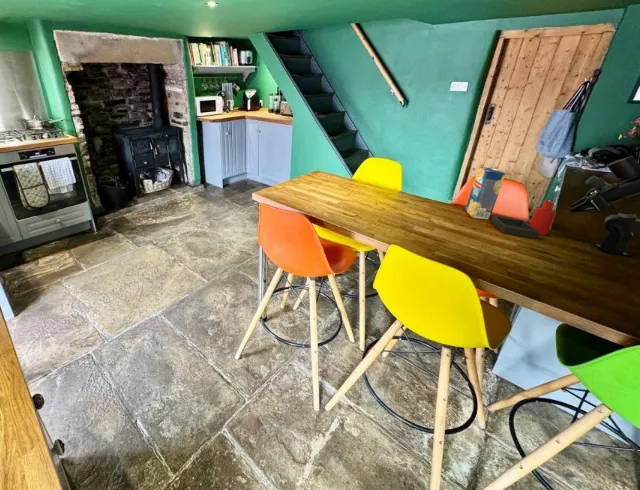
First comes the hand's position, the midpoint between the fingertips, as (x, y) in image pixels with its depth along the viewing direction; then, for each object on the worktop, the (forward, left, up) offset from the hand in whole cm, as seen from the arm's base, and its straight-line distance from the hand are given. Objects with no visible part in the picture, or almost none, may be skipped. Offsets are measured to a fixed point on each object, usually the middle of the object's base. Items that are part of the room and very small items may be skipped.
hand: (570, 208), depth 120 cm
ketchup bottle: (+3, +6, -12) cm, 14 cm away
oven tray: (0, +16, -12) cm, 20 cm away
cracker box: (+15, +25, -13) cm, 32 cm away
